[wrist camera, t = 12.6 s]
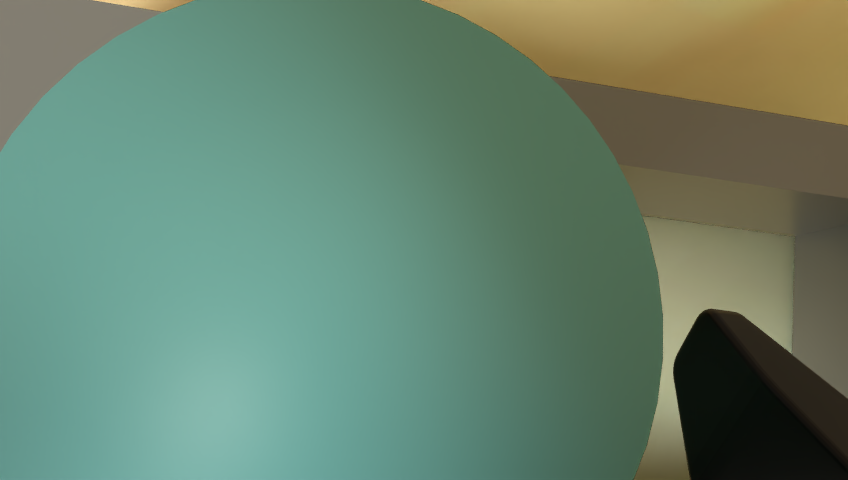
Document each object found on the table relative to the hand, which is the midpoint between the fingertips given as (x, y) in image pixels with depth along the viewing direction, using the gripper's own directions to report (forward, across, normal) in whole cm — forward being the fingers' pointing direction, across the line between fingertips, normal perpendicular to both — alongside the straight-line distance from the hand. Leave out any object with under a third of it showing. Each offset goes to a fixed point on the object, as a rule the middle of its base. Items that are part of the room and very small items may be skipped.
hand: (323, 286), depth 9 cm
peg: (+6, 0, +6) cm, 9 cm away
